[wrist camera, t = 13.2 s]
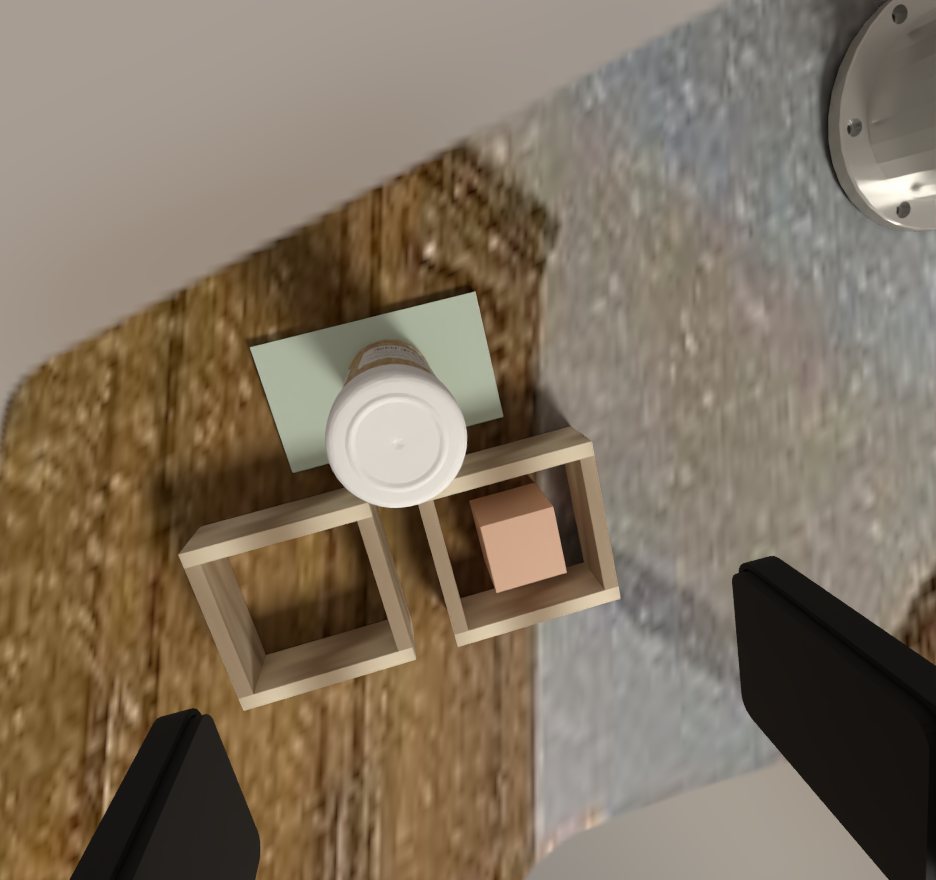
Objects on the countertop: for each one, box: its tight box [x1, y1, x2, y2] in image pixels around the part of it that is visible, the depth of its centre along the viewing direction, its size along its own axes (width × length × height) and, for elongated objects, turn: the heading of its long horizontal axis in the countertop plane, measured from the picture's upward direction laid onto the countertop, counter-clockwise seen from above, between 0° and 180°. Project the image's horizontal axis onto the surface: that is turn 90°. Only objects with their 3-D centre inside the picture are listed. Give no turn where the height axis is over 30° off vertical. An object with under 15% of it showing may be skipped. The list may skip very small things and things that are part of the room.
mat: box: [250, 292, 503, 473], centre depth 31 cm, size 12×7×1 cm, turn 104°
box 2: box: [418, 426, 620, 647], centre depth 33 cm, size 10×10×4 cm
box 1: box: [178, 488, 416, 711], centre depth 32 cm, size 10×10×4 cm
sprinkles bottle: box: [325, 339, 467, 508], centre depth 24 cm, size 5×5×13 cm
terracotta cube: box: [469, 483, 567, 593], centre depth 33 cm, size 4×4×4 cm
